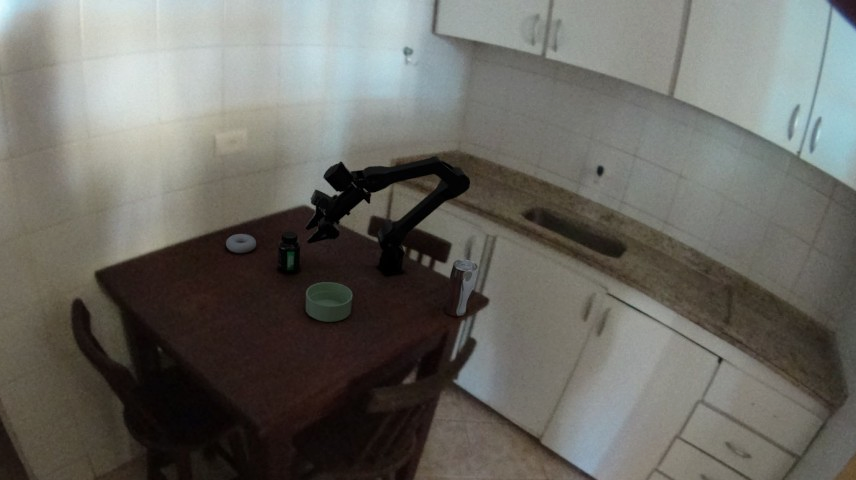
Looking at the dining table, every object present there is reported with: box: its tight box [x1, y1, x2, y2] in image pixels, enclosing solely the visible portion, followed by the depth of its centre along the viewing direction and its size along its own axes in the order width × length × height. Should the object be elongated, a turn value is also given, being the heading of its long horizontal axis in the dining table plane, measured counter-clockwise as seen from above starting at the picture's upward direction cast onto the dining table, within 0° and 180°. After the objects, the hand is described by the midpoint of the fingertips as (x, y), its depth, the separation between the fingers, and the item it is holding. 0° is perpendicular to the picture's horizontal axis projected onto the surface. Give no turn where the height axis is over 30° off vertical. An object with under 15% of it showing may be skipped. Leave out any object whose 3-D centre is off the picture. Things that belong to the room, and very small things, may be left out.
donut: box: [225, 233, 257, 254], centre depth 202 cm, size 10×4×10 cm
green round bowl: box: [304, 281, 354, 323], centre depth 173 cm, size 13×13×6 cm
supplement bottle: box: [277, 230, 301, 275], centre depth 189 cm, size 7×7×12 cm
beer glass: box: [444, 259, 479, 318], centre depth 171 cm, size 7×7×15 cm
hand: (307, 235), depth 186 cm, fingers open, 9 cm apart
